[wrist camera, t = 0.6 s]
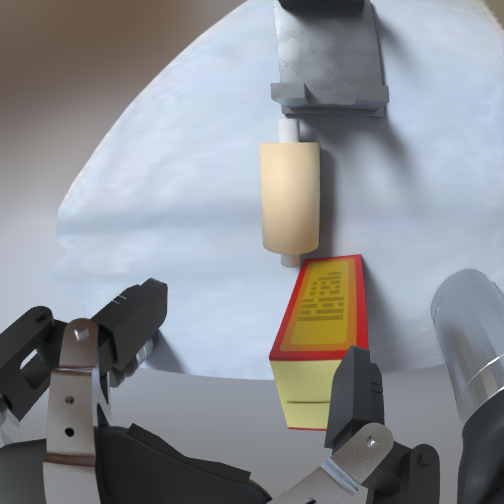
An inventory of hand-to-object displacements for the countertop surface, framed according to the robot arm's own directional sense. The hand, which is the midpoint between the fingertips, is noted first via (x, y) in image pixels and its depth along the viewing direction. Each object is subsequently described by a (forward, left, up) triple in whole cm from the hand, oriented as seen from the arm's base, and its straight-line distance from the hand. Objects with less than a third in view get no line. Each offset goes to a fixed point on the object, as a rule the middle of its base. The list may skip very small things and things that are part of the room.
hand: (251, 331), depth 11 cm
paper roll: (+2, -2, -20) cm, 20 cm away
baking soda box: (-3, +10, -20) cm, 23 cm away
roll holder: (-2, -17, -20) cm, 26 cm away
